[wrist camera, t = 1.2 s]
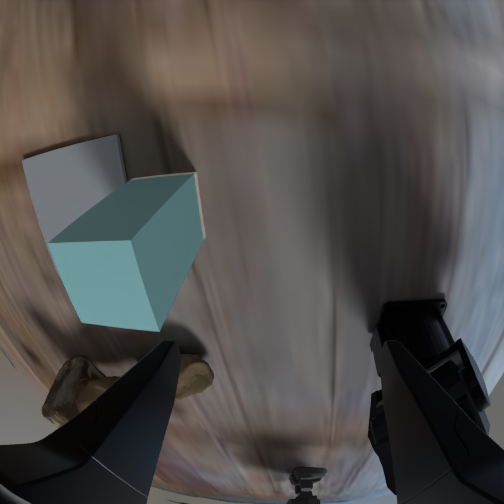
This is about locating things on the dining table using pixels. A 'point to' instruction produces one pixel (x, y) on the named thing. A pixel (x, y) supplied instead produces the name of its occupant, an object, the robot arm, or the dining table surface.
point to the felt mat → (73, 181)
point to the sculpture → (94, 384)
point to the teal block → (132, 251)
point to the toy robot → (305, 484)
